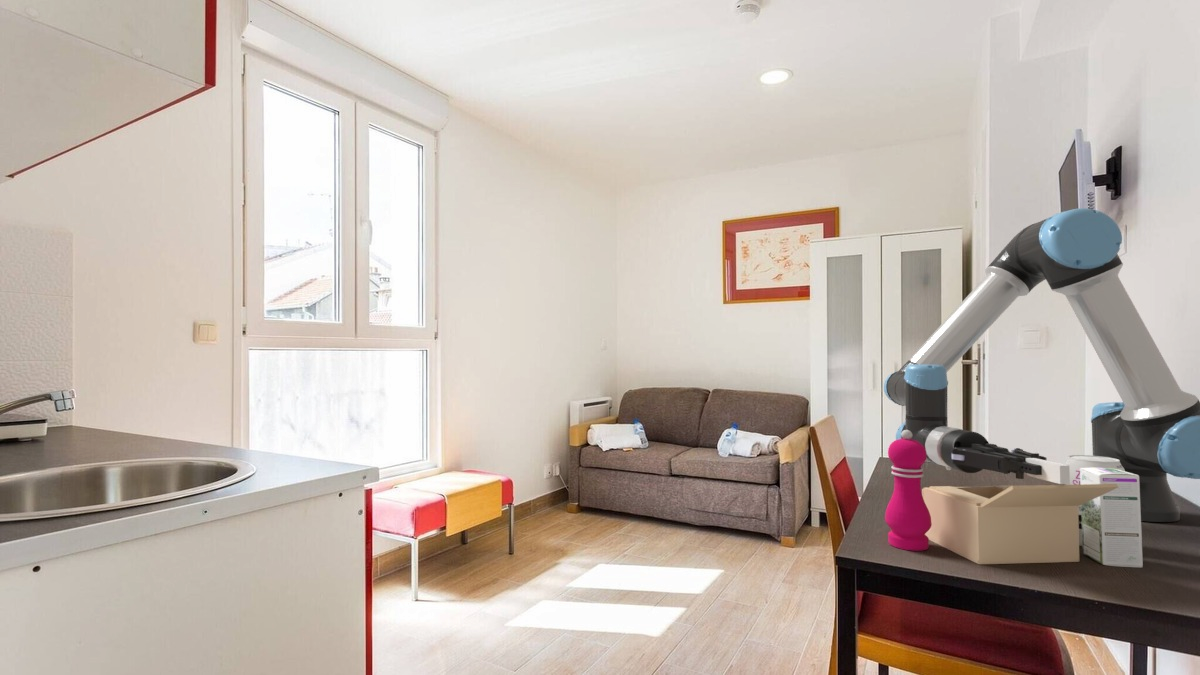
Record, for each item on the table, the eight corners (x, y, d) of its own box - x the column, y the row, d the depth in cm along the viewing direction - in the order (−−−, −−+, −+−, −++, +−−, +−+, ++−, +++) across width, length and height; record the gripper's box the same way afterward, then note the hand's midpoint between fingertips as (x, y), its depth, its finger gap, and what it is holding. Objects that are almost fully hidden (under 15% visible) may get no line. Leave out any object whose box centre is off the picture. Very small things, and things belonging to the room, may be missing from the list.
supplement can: (1112, 540, 108) (1110, 455, 108) (1136, 554, 100) (1134, 463, 100) (1058, 535, 110) (1056, 453, 111) (1077, 549, 102) (1075, 460, 103)
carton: (1009, 534, 111) (1008, 482, 111) (1079, 561, 96) (1078, 502, 96) (921, 536, 110) (920, 484, 110) (978, 564, 95) (977, 504, 95)
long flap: (1078, 502, 96) (1116, 483, 90) (1080, 505, 96) (1118, 487, 89) (980, 504, 95) (1011, 485, 88) (981, 507, 95) (1013, 489, 88)
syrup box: (1144, 568, 93) (1142, 474, 94) (1101, 565, 94) (1099, 472, 95) (1121, 556, 99) (1118, 467, 99) (1080, 553, 100) (1078, 466, 100)
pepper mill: (878, 538, 108) (876, 427, 109) (918, 539, 108) (917, 427, 108) (896, 551, 101) (895, 432, 101) (940, 552, 101) (938, 432, 101)
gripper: (992, 469, 112) (1107, 499, 89) (925, 470, 111) (1023, 501, 88) (991, 428, 112) (1105, 448, 89) (924, 429, 111) (1022, 449, 88)
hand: (1064, 474), depth 88 cm, fingers closed
